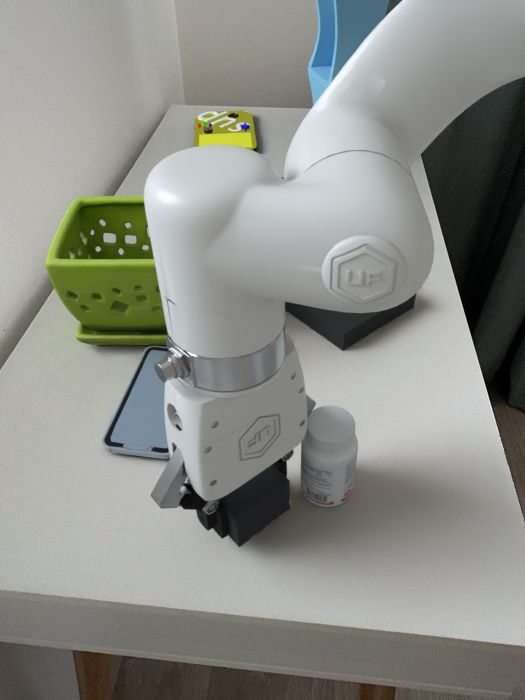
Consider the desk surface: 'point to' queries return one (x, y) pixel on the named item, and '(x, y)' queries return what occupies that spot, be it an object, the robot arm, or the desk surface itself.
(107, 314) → the flower pot
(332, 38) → the vase
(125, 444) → the smartphone
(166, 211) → the robot arm
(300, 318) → the base pad
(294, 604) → the desk surface
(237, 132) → the game console
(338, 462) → the pill bottle
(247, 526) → the dark grey square block
